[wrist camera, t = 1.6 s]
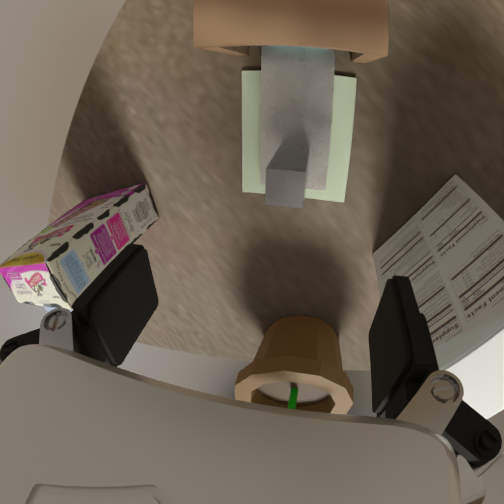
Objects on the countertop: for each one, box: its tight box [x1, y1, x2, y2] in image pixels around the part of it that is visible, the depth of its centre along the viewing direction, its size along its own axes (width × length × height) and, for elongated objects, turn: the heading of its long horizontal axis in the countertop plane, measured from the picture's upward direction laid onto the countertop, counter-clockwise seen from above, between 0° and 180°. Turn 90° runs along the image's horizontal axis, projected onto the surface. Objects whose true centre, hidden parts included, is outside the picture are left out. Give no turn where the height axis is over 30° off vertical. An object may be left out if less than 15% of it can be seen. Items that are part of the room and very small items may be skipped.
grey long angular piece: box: [260, 45, 335, 209], centre depth 19 cm, size 19×6×8 cm, turn 0°
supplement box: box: [373, 175, 504, 419], centre depth 21 cm, size 13×13×18 cm
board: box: [242, 71, 356, 202], centre depth 25 cm, size 12×10×1 cm
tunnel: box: [193, 0, 389, 64], centre depth 16 cm, size 7×11×10 cm, turn 90°
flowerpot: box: [235, 315, 353, 415], centre depth 28 cm, size 14×14×30 cm
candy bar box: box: [0, 183, 159, 309], centre depth 28 cm, size 11×5×16 cm, turn 104°
